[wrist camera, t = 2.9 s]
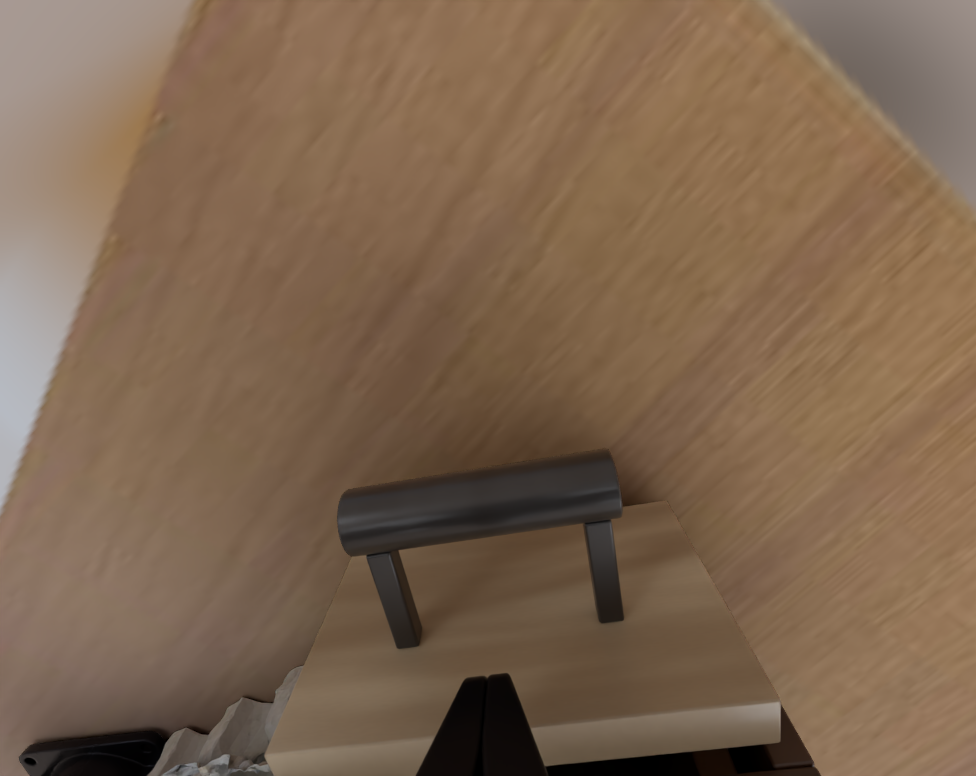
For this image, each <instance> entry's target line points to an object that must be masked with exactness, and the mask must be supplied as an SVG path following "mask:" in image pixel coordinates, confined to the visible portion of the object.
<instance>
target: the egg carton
mask: <svg viewBox="0 0 976 776" xmlns="http://www.w3.org/2000/svg"><path fill="white" fill-rule="evenodd" d="M302 668H303V666H299V667H296V668H294V669H293V670H291V671H290V672H289V673H288V674H287V676H286V678H285V679H284V682H283V684H282V685H281V686H280V687H279V688H278V689H277V690H276V691H275V693H276V696H275V699H274V703H261V702H257V701H254V700H251V699H247V698H243V697H242V698H241V699H240V700H239V701H238V702H237V703H235V704H233V705H231V706H229V707H228V708H227V710H226V712H225V715H224V717H223V718H222V719H221V721H220V722H219V723H218V724H217V725H216V726H215V727H214V728H213V729H212V731H211V732H210V734H209V735H202V734H199V733H197V732H195V731H193V730H190V729H188V728H184V729H182V730H179V731H176V732H174V733H173V734H172V736H171V737H170V738H169V740H168V741H167V742H166V744H165V747H164V749H163V752H162V754H161V757H160V759H159V760H158V762H157V764H156V765H155V767H154V769H153V770H152V771H151V772H150V773H149V774H148V775H147V776H274V775H273V773H272V771H271V769H270V767H269V765H268V763H267V761H266V759H265V752H266V750H267V748H268V745H269V743H270V741H271V739H272V736H273V734H274V732H275V730H276V727H277V725H278V723H279V720H280V718H281V716H282V714H283V711H284V709H285V707H286V705H287V702H288V700H289V698H290V696H291V693H292V691H293V689H294V686H295V684H296V682H297V680H298V677H299V675H300V673H301V671H302Z"/></svg>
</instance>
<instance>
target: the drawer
mask: <svg viewBox="0 0 976 776" xmlns="http://www.w3.org/2000/svg"><path fill="white" fill-rule="evenodd" d="M337 522H338V532H339V537H340V540H341V544H342V546H343V548H344V550H345V551H346V553H347V554H348V555H350V556H352V557H351V560H350V562H349V564H348V566H347V569H346V571H345V573H344V575H343V578H342V580H341V582H340V584H339V587H338V589H337V591H336V594H335V596H334V598H333V600H332V603H331V605H330V607H329V609H328V612H327V614H326V616H325V618H324V621H323V623H322V625H321V628H320V630H319V632H318V634H317V637H316V639H315V641H314V643H313V646H312V648H311V650H310V652H309V655H308V657H307V659H306V662H305V664H304V666H303V668H302V671H301V673H300V675H299V677H298V680H297V682H296V684H295V686H294V689H293V691H292V693H291V696H290V698H289V700H288V702H287V705H286V707H285V709H284V711H283V714H282V716H281V718H280V720H279V723H278V725H277V727H276V730H275V732H274V734H273V736H272V739H271V741H270V743H269V745H268V748H267V750H266V752H265V759H266V761H267V763H268V765H269V767H270V769H271V771H272V773H273V775H274V776H416V774H417V772H418V770H419V768H420V766H421V764H422V762H423V760H424V758H425V756H426V754H427V752H428V750H429V748H430V746H431V744H432V742H433V740H434V738H435V736H436V734H437V732H438V730H439V728H440V726H441V724H442V722H443V720H444V718H445V716H446V714H447V712H448V710H449V708H450V706H451V704H452V702H453V700H454V698H455V696H456V694H457V692H458V690H459V688H460V686H461V684H462V682H463V681H464V679H466V678H468V677H474V676H486V677H487V678H488V676H489V675H491V674H500V673H508V674H509V675H510V676H511V679H512V681H513V684H514V686H515V689H516V692H517V694H518V697H519V700H520V702H521V705H522V708H523V710H524V713H525V715H526V718H527V721H528V723H529V726H530V729H531V731H532V734H533V736H534V739H535V742H536V744H537V747H538V750H539V752H540V755H541V758H542V760H543V763H544V765H545V768H546V771H547V773H548V776H718V775H728V774H738V773H737V770H736V768H735V765H734V763H733V761H732V758H731V756H730V754H729V751H728V749H727V748H732V747H742V746H752V745H762V744H772V743H779V742H780V738H781V700H780V698H779V696H778V694H777V693H776V691H775V689H774V687H773V686H772V684H771V682H770V680H769V679H768V677H767V675H766V673H765V672H764V670H763V668H762V666H761V665H760V663H759V661H758V659H757V658H756V656H755V654H754V652H753V651H752V649H751V647H750V645H749V644H748V642H747V640H746V638H745V637H744V635H743V633H742V631H741V630H740V628H739V626H738V624H737V623H736V621H735V619H734V617H733V616H732V614H731V612H730V610H729V609H728V607H727V605H726V603H725V602H724V600H723V598H722V596H721V595H720V593H719V591H718V589H717V588H716V586H715V584H714V582H713V581H712V579H711V577H710V575H709V574H708V572H707V570H706V568H705V567H704V565H703V563H702V561H701V560H700V558H699V556H698V554H697V553H696V551H695V549H694V547H693V546H692V544H691V542H690V540H689V539H688V537H687V535H686V533H685V532H684V530H683V528H682V526H681V525H680V523H679V521H678V519H677V518H676V516H675V514H674V512H673V511H672V509H671V507H670V505H669V504H668V502H667V501H659V502H652V503H645V504H638V505H631V506H625V507H623V505H622V496H621V490H620V484H619V480H618V475H617V471H616V467H615V464H614V461H613V458H612V455H611V453H610V451H609V450H608V449H598V450H592V451H586V452H580V453H573V454H567V455H561V456H554V457H548V458H542V459H535V460H529V461H523V462H517V463H510V464H504V465H498V466H491V467H485V468H479V469H473V470H466V471H460V472H454V473H447V474H441V475H435V476H429V477H422V478H416V479H410V480H403V481H397V482H391V483H385V484H378V485H372V486H366V487H359V488H353V489H348V490H347V491H345V492H344V493H343V494H342V496H341V498H340V501H339V506H338V515H337Z"/></svg>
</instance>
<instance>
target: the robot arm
mask: <svg viewBox="0 0 976 776" xmlns="http://www.w3.org/2000/svg"><path fill="white" fill-rule="evenodd" d="M165 744H166V743H165V741H164V739H163V738H162V737H161V735H159V734H158V733H156V732H153V731H144V732H135V733H126V734H118V735H109V736H100V737H92V738H83V739H74V740H66V741H57V742H48V743H40V744H32V745H30V746H29V747H28V748H27V749H26V750H25V751H24V752H23V753H22V754H21V755H20V757H19V761H20V763H21V764H22V766H23V767H24V768H25V770H26V771H27V772H28V774H29V775H30V776H147V775H148V774H149V773H150V772H151V771H152V770H153V769H154V767H155V765H156V764H157V762H158V760H159V759H160V757H161V754H162V752H163V749H164V747H165ZM416 776H548V773H547V771H546V768H545V765H544V763H543V760H542V758H541V755H540V752H539V750H538V747H537V744H536V742H535V739H534V736H533V734H532V731H531V729H530V726H529V723H528V721H527V718H526V715H525V713H524V710H523V708H522V705H521V702H520V700H519V697H518V694H517V692H516V689H515V686H514V684H513V681H512V679H511V676H510V675H509V674H508V673H500V674H491V675H489V676H488V678H487V677H486V676H474V677H468V678H466V679H464V681H463V682H462V684H461V686H460V688H459V690H458V692H457V694H456V696H455V698H454V700H453V702H452V704H451V706H450V708H449V710H448V712H447V714H446V716H445V718H444V720H443V722H442V724H441V726H440V728H439V730H438V732H437V734H436V736H435V738H434V740H433V742H432V744H431V746H430V748H429V750H428V752H427V754H426V756H425V758H424V760H423V762H422V764H421V766H420V768H419V770H418V772H417V774H416Z"/></svg>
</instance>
